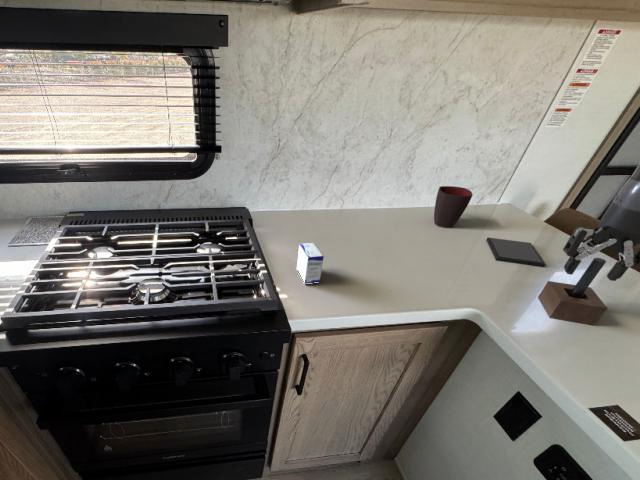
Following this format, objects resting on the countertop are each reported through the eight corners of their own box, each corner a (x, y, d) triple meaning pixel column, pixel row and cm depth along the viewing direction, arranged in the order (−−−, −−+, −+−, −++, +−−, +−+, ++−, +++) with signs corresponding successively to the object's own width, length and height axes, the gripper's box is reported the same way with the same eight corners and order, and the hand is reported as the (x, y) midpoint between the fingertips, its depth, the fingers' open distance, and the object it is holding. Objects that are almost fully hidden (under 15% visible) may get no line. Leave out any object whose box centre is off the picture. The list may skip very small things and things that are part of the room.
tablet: (529, 245, 109) (530, 242, 109) (543, 267, 99) (545, 263, 98) (486, 240, 113) (487, 237, 112) (495, 260, 102) (497, 257, 101)
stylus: (567, 309, 83) (603, 258, 75) (571, 314, 82) (608, 262, 73) (557, 307, 84) (592, 256, 75) (560, 312, 82) (596, 261, 74)
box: (320, 283, 93) (324, 256, 88) (304, 285, 92) (307, 257, 87) (311, 268, 99) (314, 242, 94) (295, 270, 98) (298, 243, 93)
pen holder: (578, 304, 85) (590, 287, 82) (594, 325, 78) (608, 308, 75) (537, 297, 87) (547, 280, 84) (549, 317, 81) (560, 300, 78)
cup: (430, 228, 120) (442, 194, 113) (423, 213, 131) (434, 181, 123) (462, 231, 118) (476, 197, 111) (452, 215, 129) (464, 183, 121)
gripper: (603, 206, 66) (556, 278, 76) (700, 216, 62) (638, 290, 72) (586, 193, 72) (545, 262, 81) (675, 201, 68) (620, 272, 78)
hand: (589, 275), depth 77 cm, fingers open, 7 cm apart
